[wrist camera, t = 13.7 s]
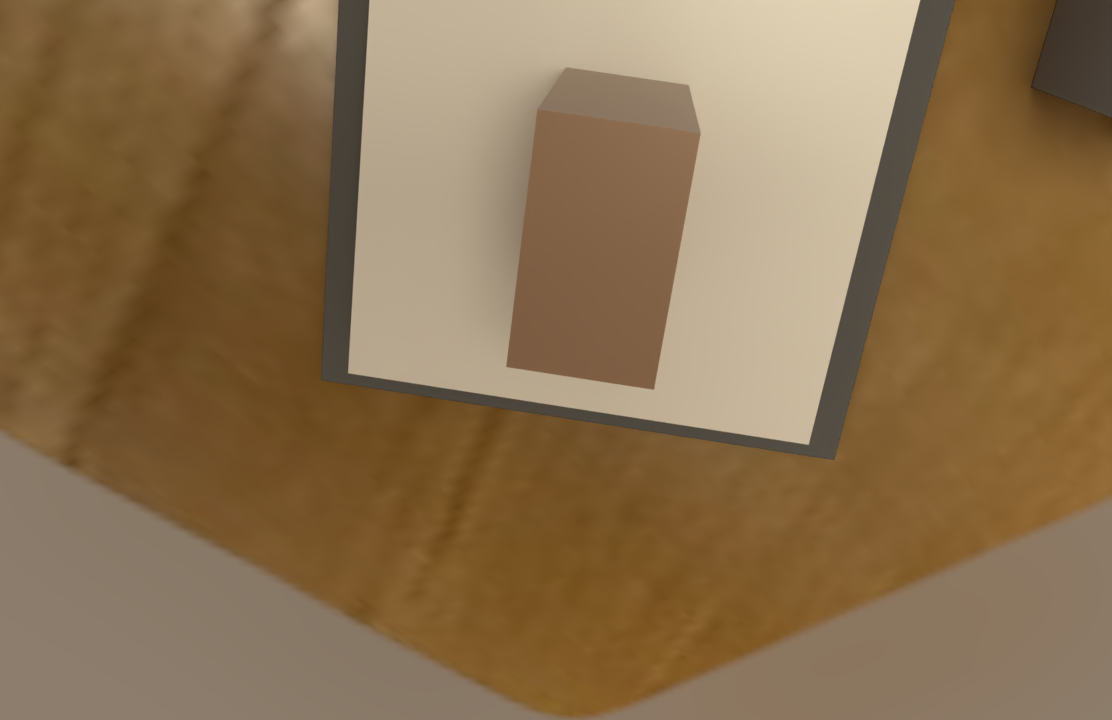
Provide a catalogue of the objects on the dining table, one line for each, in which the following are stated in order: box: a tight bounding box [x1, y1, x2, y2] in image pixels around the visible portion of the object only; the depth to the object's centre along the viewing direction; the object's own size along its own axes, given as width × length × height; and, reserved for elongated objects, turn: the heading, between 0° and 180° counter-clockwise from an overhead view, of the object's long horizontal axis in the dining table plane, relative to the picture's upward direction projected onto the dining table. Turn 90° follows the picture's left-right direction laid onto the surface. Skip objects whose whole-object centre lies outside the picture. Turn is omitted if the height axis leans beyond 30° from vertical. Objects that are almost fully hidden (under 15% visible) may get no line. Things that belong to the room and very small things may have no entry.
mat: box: [321, 0, 955, 460], centre depth 33 cm, size 18×18×1 cm
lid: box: [348, 0, 920, 445], centre depth 28 cm, size 15×15×10 cm
